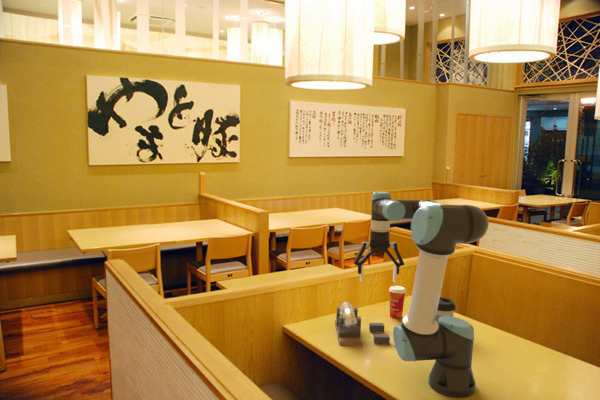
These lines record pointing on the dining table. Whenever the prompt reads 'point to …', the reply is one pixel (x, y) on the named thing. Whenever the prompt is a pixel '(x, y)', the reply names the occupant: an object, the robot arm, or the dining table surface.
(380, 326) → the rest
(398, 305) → the paper cup
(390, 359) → the dining table surface
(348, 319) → the silver metal cylinder
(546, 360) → the dining table surface
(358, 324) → the dark grey notched piece
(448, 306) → the coffee cup
